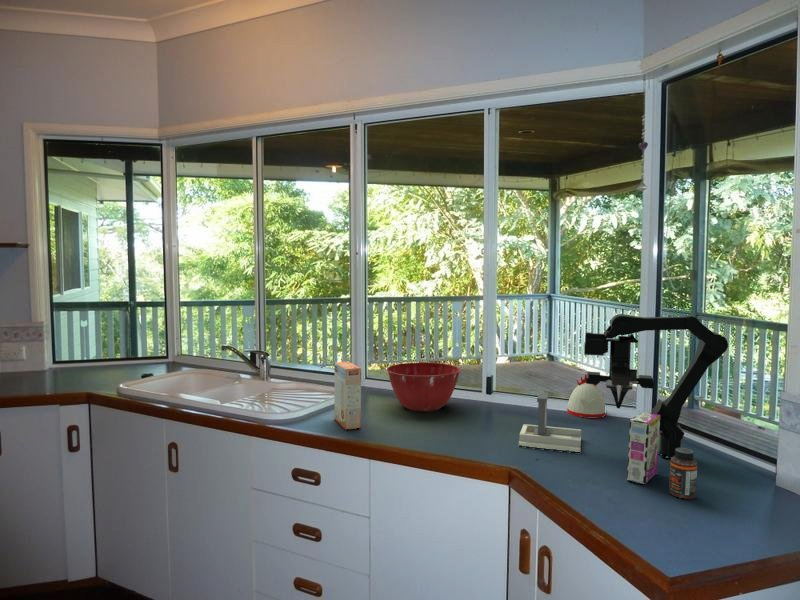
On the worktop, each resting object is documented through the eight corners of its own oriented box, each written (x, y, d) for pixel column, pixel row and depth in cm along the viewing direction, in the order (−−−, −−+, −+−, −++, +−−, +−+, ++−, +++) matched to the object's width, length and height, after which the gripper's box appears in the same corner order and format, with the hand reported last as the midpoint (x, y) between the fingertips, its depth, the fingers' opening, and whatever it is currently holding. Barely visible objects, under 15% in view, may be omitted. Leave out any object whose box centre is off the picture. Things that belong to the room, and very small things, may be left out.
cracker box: (362, 428, 190) (362, 367, 188) (344, 430, 188) (344, 368, 186) (350, 417, 203) (350, 360, 201) (333, 419, 201) (333, 361, 199)
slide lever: (551, 433, 180) (552, 393, 179) (549, 441, 172) (550, 399, 171) (535, 431, 182) (535, 391, 181) (532, 439, 174) (533, 397, 173)
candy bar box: (646, 486, 143) (648, 423, 142) (626, 481, 146) (628, 419, 145) (658, 473, 151) (661, 414, 150) (639, 469, 155) (641, 410, 153)
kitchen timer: (608, 419, 202) (610, 378, 201) (569, 417, 205) (570, 376, 204) (602, 409, 216) (604, 371, 215) (565, 407, 219) (566, 369, 218)
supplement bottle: (663, 492, 139) (665, 447, 139) (681, 488, 141) (683, 444, 141) (683, 501, 134) (685, 455, 133) (701, 498, 136) (703, 452, 135)
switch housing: (580, 439, 180) (581, 428, 180) (580, 453, 167) (580, 441, 167) (523, 433, 186) (523, 423, 185) (518, 446, 172) (519, 435, 172)
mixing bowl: (378, 401, 227) (378, 363, 226) (443, 396, 236) (444, 359, 235) (398, 420, 200) (399, 377, 199) (472, 414, 209) (472, 373, 208)
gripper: (586, 359, 163) (585, 412, 164) (657, 363, 157) (655, 418, 158) (587, 353, 173) (585, 402, 175) (653, 356, 167) (651, 408, 169)
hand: (618, 408), depth 169 cm, fingers closed
